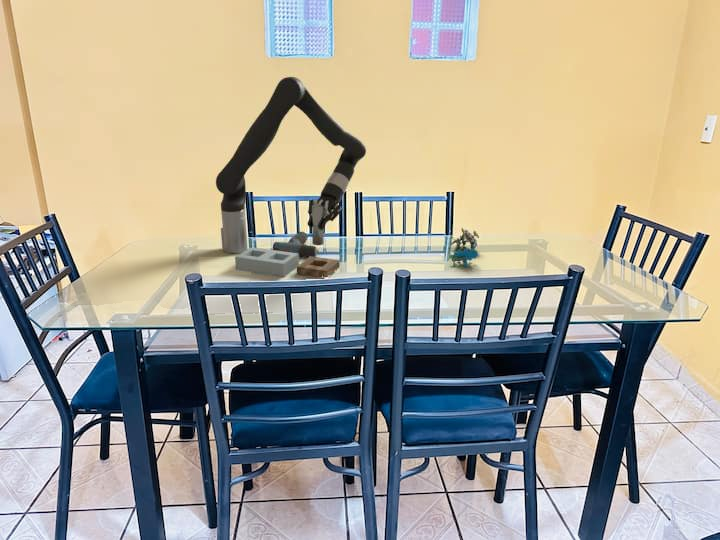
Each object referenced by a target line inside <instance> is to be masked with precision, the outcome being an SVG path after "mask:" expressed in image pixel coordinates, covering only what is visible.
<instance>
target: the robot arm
mask: <svg viewBox="0 0 720 540" xmlns="http://www.w3.org/2000/svg"><path fill="white" fill-rule="evenodd" d="M294 106H295V107H296V108H298V109H299V110H300V111H301V112H302V113H303V114H304V115H306V116H307V118H308V119H309V120H310V122H311V123H312V124H313V125H314V127H315V128H316V129H317V130H318V132H319V133H320V134H321V135H322V136H323V137H324V138H325V140H326V139H327V141H328V142H330V144H331V145H332V146H334V147H335V146H336V147H337V146H338V147H339V146H340V147H341V148H343V150H342V152H341V154H340V156H339V159H338V162H337V164H336V165H335V168H334V169H333V171H332V173H331V174H330V176H329V178H328V179H327V181H326V183H325V185H324V187H323V189H322V190H321V192H320V195H319V196H320V197H318V198H317V200H314V199H311V200H310V201H309V205H308V210H307V213H308V215H309V216H310V217H309V219H308V221H307V226H308V227H309V228H312V205H316V204H319V205H323V206H324V215H323V218H322V219H321V221H320V223H319V225H318V228H319V229H320V230H322V229H323V228H325V227H326V224H327V223H328V222H329V221H331V222H333V221H334V220H335V219H336V218H337V217H339V215H340V214H341V213H342V211H343V208H342V206H341V205H340V202H341V201H342V198H343V196H344V194H345V192H346V191H347V189H348V186H349V183H350V182H351V180H352V177H353V176H354V173H355V167H356V165H357V164H358V162H359V161H361V160H362V159H363V158H364V157H365V156H366V154H367V149H366V145H365V144H364V143H363V141H362V140H361V139H359V138H358V137H357V136H354V135H353V134H352V133H350V132H348V131H346V130H345V129H344V128H343V126H341V124H339V123H338V121H336V120H335V119H334V118H333V117H332V116H331V114H329V113H328V112H327V111H326V110H325V109H324V108H323V107H322V106H321V105H320V104H319V103H318V101H316V99H315V98H314V97H313V96H312V94H311V93H310V92H309V90H308V89H307V88H306V86H305V85H304V83H303V81H301V79H299V78H298V77H295V76H287V77H286V76H285V77H284V78H282V79H280V80H279V82H278V83H277V85H276V87H275V88H274V91H273V92H272V95H271V97H270V99H269V101H268V102H267V104H266V106H265V108H263V110H262V111H261V112H260V114H259V115H258V116H257V118H256V119H255V120H254V122H253V123H252V124H251V126H250V127H249V128H248V130H247V131H246V133H245V135H244V137H242V139H241V142H240V144H239V145H238V147H237V149H236V150H235V152H234V154H233V155H232V157H231V158H230V160H229V161H228V162H227V164H225V165H224V167H223V168H222V169H221V170H220V172H219V173H218V174H217V176H216V179H215V185H216V189H217V191H219V192H220V194H223V196H222V199H221V202H220V211H221V213H220V214H221V222H222V223H221V224H222V227H220V235H221V236H220V237H221V238H220V239H221V248H222V250H221V251H223V252H225V253H227V254H241V253H243V252H244V251H246V250H248V249H249V248H248V235H247V221H246V206H245V205H246V202H247V200H246V199H247V198H246V197H247V195H246V179H245V175H246V173H247V172H248V171H249V169H250V168H251V167H252V166H253V165H254V164H255V163H256V162H257V161H258V160H259V159H260V158H261V157H262V155H263V154H265V152H267V150H268V148H269V147H270V145H271V143H272V142H273V141H274V139H275V136H277V133H278V131H279V128H280V126H281V124H282V121H283V120H284V118H285V116H287V114H288V113H289V112H290V110H291V109H293V107H294Z"/></svg>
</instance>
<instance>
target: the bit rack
mask: <svg viewBox="0 0 720 540" xmlns="http://www.w3.org/2000/svg"><path fill="white" fill-rule="evenodd" d="M234 260H235V261H234V263H235V270H236V271H237V270H238V271H243V272H244V271H245V272H249V273H250V272H251V273H257V274H261V275H263V274H264V275H269V276H274V277H275V276H276V277H283V278H285V277H286V276H288V275H290V274H291V273H292V272H293V271H294V270H297V266H298V265H299V264H300V256H299V254H298V253H291V252H284V251H276V250H273V249H267V248H260V247H253V246H252V247H250V248H248V250H246V251H244V252H242V253H238V254H237V255H236V256H234Z"/></svg>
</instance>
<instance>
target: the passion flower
mask: <svg viewBox="0 0 720 540" xmlns="http://www.w3.org/2000/svg"><path fill="white" fill-rule="evenodd" d="M461 232H462V234H461V235H460V236H459V237H457V238H455V237H453V234H450V239H451V240H452V239H454V241H452V242H451V244H450V246H453V245H454V244H455V243H456V246H455V249H454V251H456V250H457V248H459V247H460V246H461V244H462V246H463V247H464V246H466V244H467V243H469V244H470V249H473V252H474V251H475V250H476V247H478V243H477V239H479V238H480V236H479V234H478V233H477V231H476V230H473V232H470V231H469V230H467V229H465V230H464V228H463V227H462V228H461ZM472 233H473V234H472ZM475 237H476V238H477V239H476V238H475Z"/></svg>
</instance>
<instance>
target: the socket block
mask: <svg viewBox="0 0 720 540" xmlns="http://www.w3.org/2000/svg"><path fill="white" fill-rule="evenodd" d="M340 263H341V261H340V260H339V259H332V258H326V257H320V256H319V257H317V256H314V257H312V256H308V258H306V259H305V260H304V261H302V262H301V263H299V265H298V266H297V268H296V275H301V276H306V277H312V278H318V277H322V276H323V277H328V276H329V275H331V274H332V273H333V272H334V271H335V270H337V269H338V268H339V267H341V265H340ZM339 269H340V268H339ZM339 269H338V270H339ZM338 270H337V271H338ZM334 273H335V272H334ZM334 273H333V274H334ZM333 274H332V275H333ZM332 275H331V276H332Z"/></svg>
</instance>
